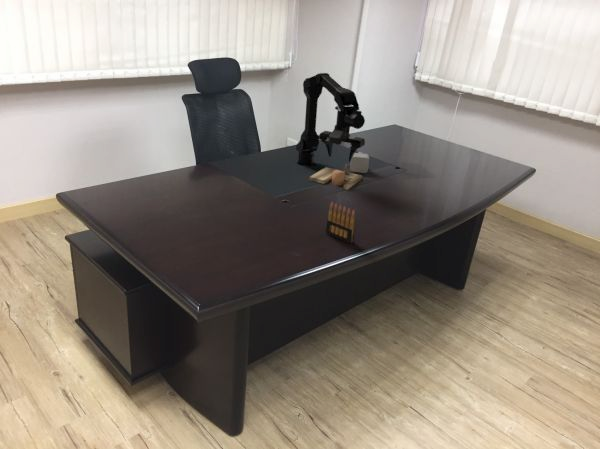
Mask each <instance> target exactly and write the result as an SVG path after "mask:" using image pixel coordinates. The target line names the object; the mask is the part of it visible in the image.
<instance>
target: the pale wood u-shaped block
mask: <svg viewBox="0 0 600 449" xmlns="http://www.w3.org/2000/svg"><path fill="white" fill-rule="evenodd" d="M350 166H351V163H346V164H345V166H344V170H340V169H336V168H331V167H327V166H324V168H322V169H320V170H319V171H317V172H315V173H314V174H312V175H310V176H309V181H311V182H314V183H319V184H323V185H325V184H327V183H328V182H329V181H332V177H333V171H337V170H338V171H343V172H344V173H345V174H344V181H347V182H345V183H344V184H343V185H342V186H343V187H342V188H343V190H347V191H348V190H349V189H350V188H352V187H353V186H355V185H356V184H358V182H360V181H361V180H362V178H363V175H361V174H357V173H355V172H350Z"/></svg>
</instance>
